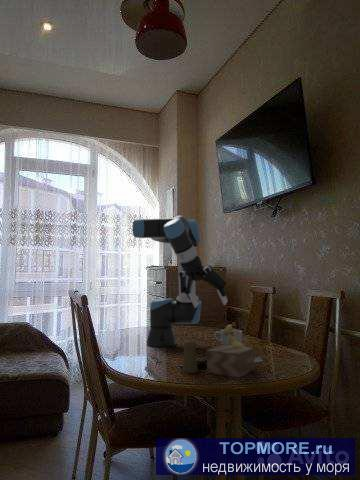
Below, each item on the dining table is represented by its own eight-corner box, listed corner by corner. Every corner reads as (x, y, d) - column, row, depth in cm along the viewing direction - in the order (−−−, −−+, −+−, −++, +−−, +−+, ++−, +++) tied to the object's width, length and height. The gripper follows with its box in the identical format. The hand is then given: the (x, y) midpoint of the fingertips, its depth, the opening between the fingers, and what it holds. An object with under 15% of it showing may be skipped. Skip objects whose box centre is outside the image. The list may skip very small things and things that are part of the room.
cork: (181, 368, 139) (181, 339, 140) (196, 368, 140) (196, 339, 141) (182, 373, 133) (182, 342, 134) (199, 372, 134) (198, 342, 135)
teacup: (241, 344, 187) (241, 328, 187) (243, 349, 176) (242, 332, 177) (214, 344, 188) (214, 328, 189) (214, 348, 177) (213, 331, 178)
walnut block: (207, 372, 134) (206, 350, 135) (223, 364, 145) (223, 344, 146) (239, 377, 127) (238, 354, 128) (254, 369, 138) (253, 347, 138)
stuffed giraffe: (216, 354, 165) (217, 318, 166) (256, 355, 165) (257, 319, 166) (220, 364, 149) (220, 324, 150) (264, 365, 149) (264, 326, 150)
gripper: (158, 268, 142) (181, 312, 148) (212, 258, 127) (235, 307, 133) (168, 258, 147) (189, 301, 153) (220, 247, 132) (242, 295, 138)
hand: (211, 304), depth 143 cm, fingers open, 13 cm apart
